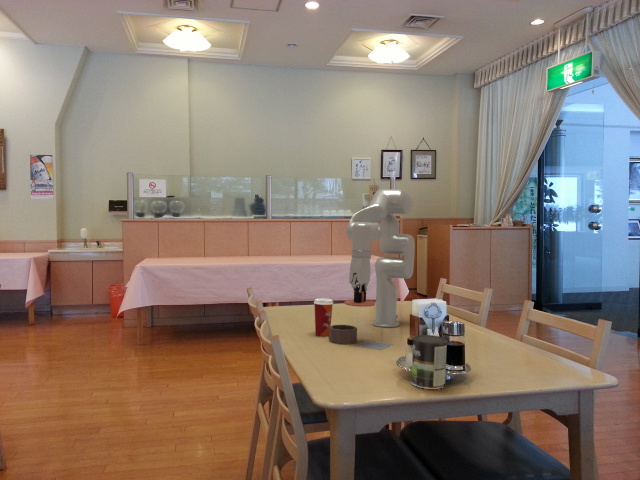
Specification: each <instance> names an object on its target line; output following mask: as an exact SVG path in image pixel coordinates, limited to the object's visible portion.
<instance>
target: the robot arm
mask: <svg viewBox="0 0 640 480" xmlns="http://www.w3.org/2000/svg"><path fill="white" fill-rule="evenodd" d="M413 204H414V203H413V198H412V197H411V196H410V194H408V192H406V191H405V190H403V189H400V188H399V189H398V188H397V189H395V188H381V189H378V190H377V191H375V192H374V194H373V196H372V198H371V200H370V202H369V204H368V206H366V207H364V208H363V209H360V210H359V211H357V212H355V213H354V214H353V215H352V216H351V218H350V220H349V221H348V224H347V226H346V229H345V232H346V236H347V238H348V239H349V240H351V260H350V266H349V273H348V274H349V275H348V276H349V277H348V283H349V284H351V288H353V299H354V302H358V303H361V302H362V292H361V291H363V292H364V302H365V301H366V300H367V291H368V290H367V289H368V285H369V282H370V281H371V260H372V242H377V241H379V250H380V251H381V253H383V254H387V255H402V257H397V256H380V257H378V258H377V259H376V261H375V262H374V268H375V269H374V270H375V278H376V279H375V280H376V282H375V283H376V284H375V285H376V289H375V291H376V292H375V319H374V320H372V321H371V325H373V326H374V327H375V326H376V327H379V328H397V327H399V326H400V322H399V321H397V318H399V314H397V307H398V306H397V302H398V301H397V299H398V287H397V284H396V282H395V281H394V279H403V280H404V279H411V277H412V276H413V274H414V265H415V247H416V246H415V238H414V236H412V235H411V234H409V233H400V221H399V220H398V218H397V216H396V215H398V214H399V215H400V214H401V215H407V214H410V213H411V211H413ZM395 214H396V215H395ZM379 222H380V223H379Z"/></svg>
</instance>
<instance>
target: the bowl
mask: <svg viewBox="0 0 640 480" xmlns="http://www.w3.org/2000/svg"><path fill="white" fill-rule="evenodd" d="M328 340H329V342H330V343H332V344H334V345H335V344H337V345H351V344H355V343H356V342H357V341H358V327H356V326H354V325H350V324H334V325H331V326H329V336H328Z"/></svg>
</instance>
